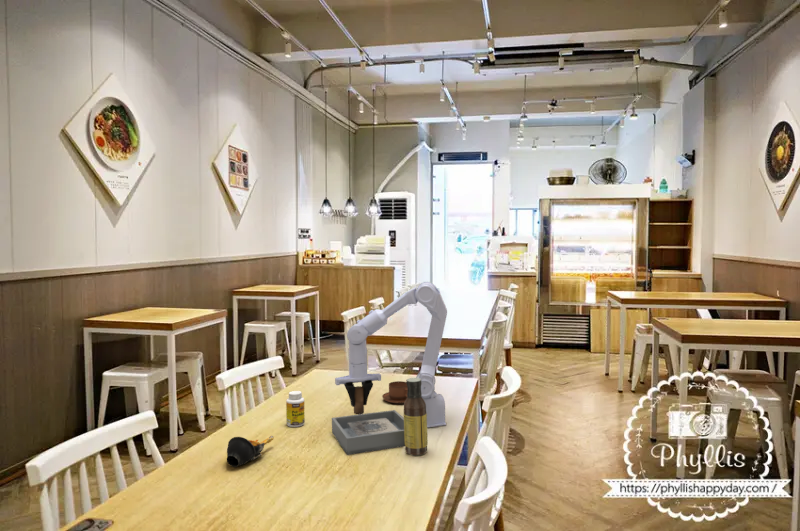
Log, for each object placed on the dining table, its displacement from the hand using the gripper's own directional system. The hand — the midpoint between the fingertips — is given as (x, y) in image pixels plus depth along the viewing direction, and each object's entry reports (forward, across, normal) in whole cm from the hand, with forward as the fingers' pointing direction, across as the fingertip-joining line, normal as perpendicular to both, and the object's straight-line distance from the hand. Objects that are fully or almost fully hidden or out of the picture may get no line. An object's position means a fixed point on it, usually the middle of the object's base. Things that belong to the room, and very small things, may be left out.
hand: (358, 405), depth 168 cm
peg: (+2, 0, 0) cm, 2 cm away
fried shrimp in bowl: (+6, +34, +17) cm, 39 cm away
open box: (+6, 0, +15) cm, 16 cm away
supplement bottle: (+6, +19, -5) cm, 21 cm away
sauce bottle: (+6, -8, +29) cm, 30 cm away
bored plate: (+6, 0, +15) cm, 16 cm away
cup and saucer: (+6, -20, -17) cm, 27 cm away
